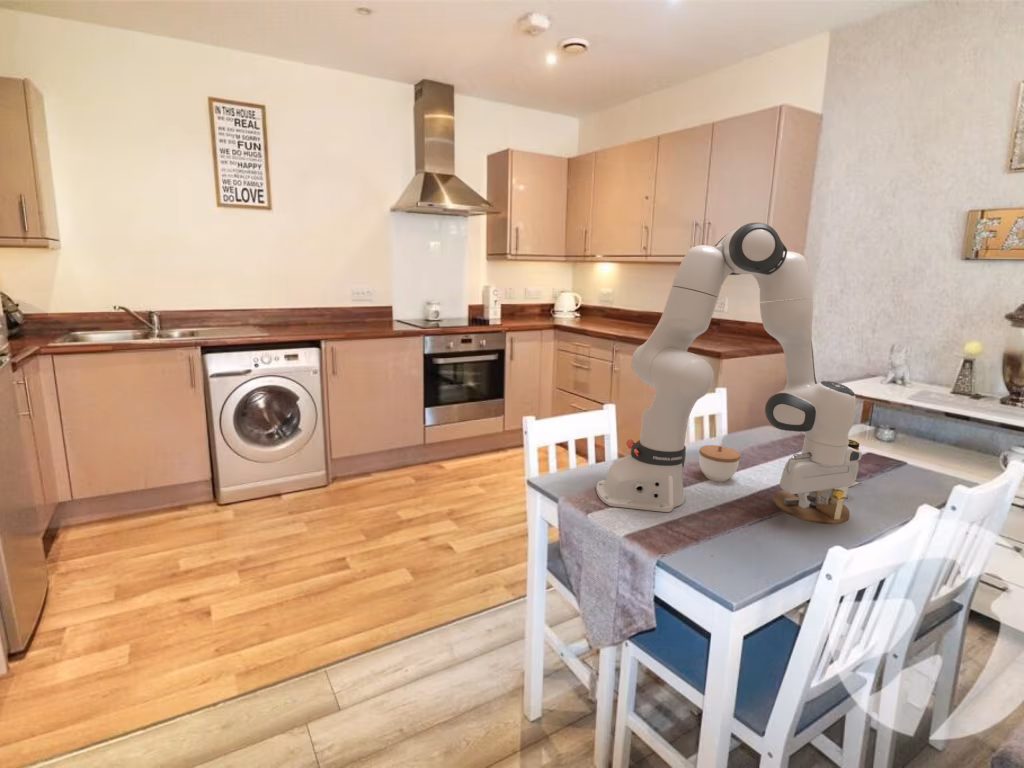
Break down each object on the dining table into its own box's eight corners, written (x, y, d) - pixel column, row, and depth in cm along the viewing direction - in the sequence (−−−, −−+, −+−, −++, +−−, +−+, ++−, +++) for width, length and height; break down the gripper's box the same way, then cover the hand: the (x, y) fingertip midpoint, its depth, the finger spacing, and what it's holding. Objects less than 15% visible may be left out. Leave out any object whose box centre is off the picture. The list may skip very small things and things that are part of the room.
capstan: (809, 521, 129) (814, 494, 127) (766, 491, 144) (770, 467, 142) (863, 517, 132) (869, 491, 130) (815, 488, 147) (820, 465, 145)
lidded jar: (740, 476, 157) (744, 445, 155) (731, 488, 148) (736, 456, 146) (702, 466, 163) (706, 437, 160) (691, 478, 154) (695, 447, 152)
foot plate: (794, 523, 130) (795, 519, 130) (761, 492, 147) (761, 488, 146) (864, 524, 131) (865, 520, 130) (823, 493, 147) (824, 490, 147)
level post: (837, 498, 144) (846, 456, 141) (828, 492, 148) (836, 450, 145) (848, 499, 144) (857, 456, 142) (839, 492, 148) (847, 450, 145)
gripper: (801, 460, 121) (789, 517, 125) (867, 452, 128) (855, 506, 132) (778, 450, 127) (768, 504, 130) (843, 443, 134) (832, 495, 137)
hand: (812, 505), depth 131 cm, fingers open, 4 cm apart
